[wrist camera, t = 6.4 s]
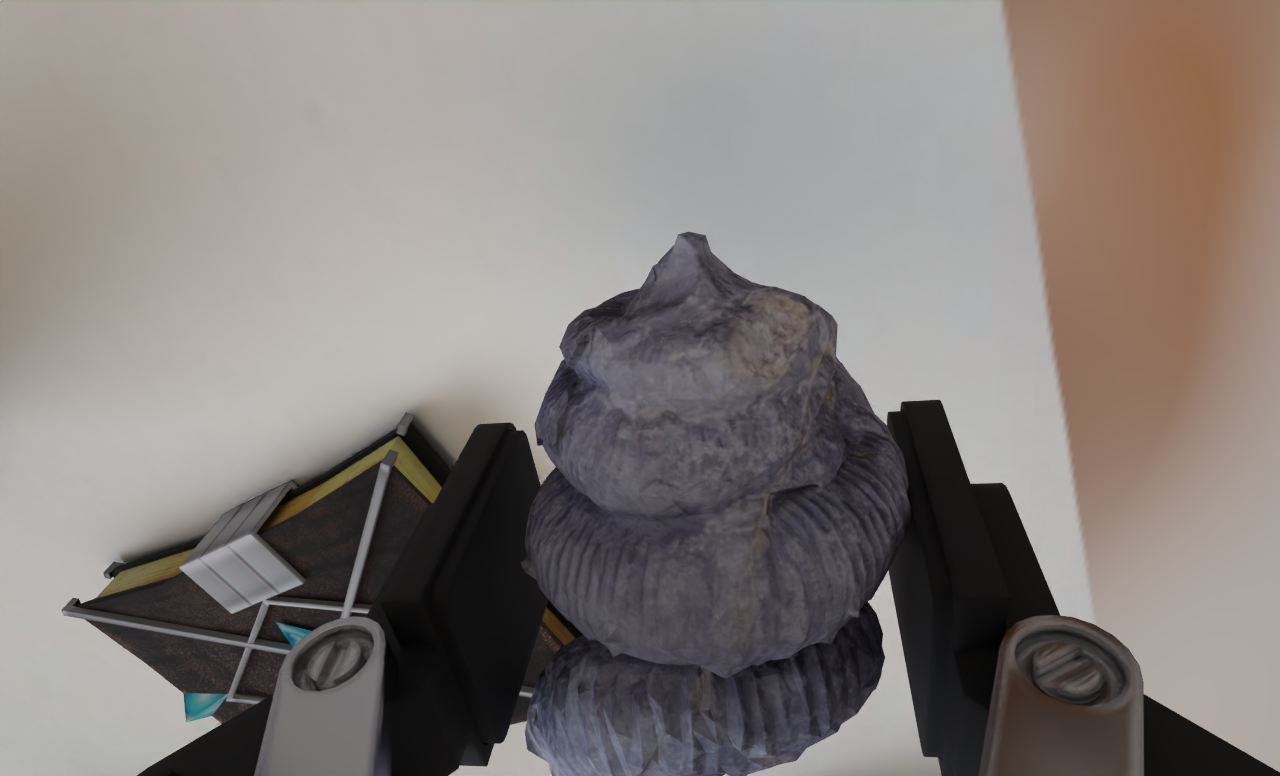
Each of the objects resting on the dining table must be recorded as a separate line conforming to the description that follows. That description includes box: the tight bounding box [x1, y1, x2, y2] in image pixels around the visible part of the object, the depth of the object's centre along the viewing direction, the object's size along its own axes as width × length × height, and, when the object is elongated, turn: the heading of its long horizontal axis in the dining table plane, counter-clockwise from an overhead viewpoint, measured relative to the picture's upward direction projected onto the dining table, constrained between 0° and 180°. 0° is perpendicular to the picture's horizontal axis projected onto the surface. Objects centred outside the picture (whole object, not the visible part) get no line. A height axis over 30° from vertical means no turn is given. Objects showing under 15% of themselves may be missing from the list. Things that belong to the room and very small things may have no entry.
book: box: [61, 412, 583, 725], centre depth 38 cm, size 22×17×5 cm
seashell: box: [520, 232, 911, 776], centre depth 11 cm, size 5×5×10 cm
